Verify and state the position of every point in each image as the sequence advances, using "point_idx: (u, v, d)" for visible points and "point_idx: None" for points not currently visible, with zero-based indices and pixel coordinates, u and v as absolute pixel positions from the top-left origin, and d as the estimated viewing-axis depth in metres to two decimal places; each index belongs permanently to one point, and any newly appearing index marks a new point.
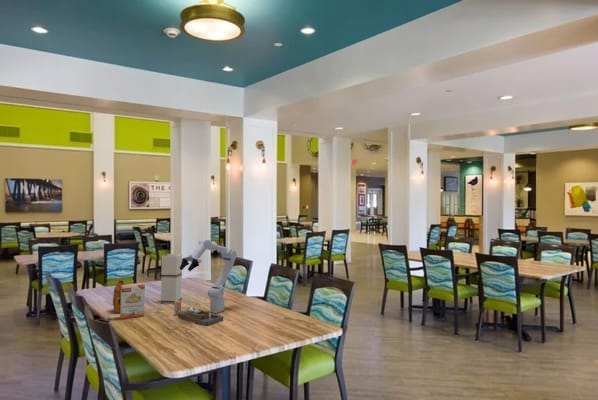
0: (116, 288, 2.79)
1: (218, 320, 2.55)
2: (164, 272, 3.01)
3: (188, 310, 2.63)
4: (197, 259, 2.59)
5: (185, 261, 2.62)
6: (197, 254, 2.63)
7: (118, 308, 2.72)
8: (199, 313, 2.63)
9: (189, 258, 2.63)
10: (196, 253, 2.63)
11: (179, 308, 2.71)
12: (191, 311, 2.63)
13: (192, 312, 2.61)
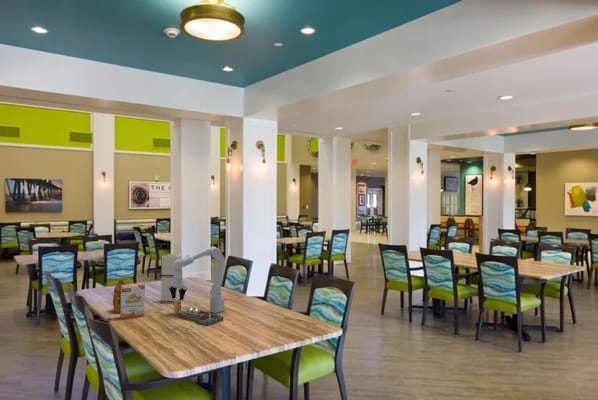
0: (116, 288, 2.79)
1: (218, 320, 2.55)
2: (164, 272, 3.01)
3: (188, 310, 2.63)
4: (182, 287, 2.68)
5: (173, 289, 2.73)
6: (178, 281, 2.69)
7: (118, 308, 2.72)
8: (199, 313, 2.63)
9: None
10: (177, 281, 2.69)
11: (179, 308, 2.71)
12: (191, 311, 2.63)
13: (192, 312, 2.61)
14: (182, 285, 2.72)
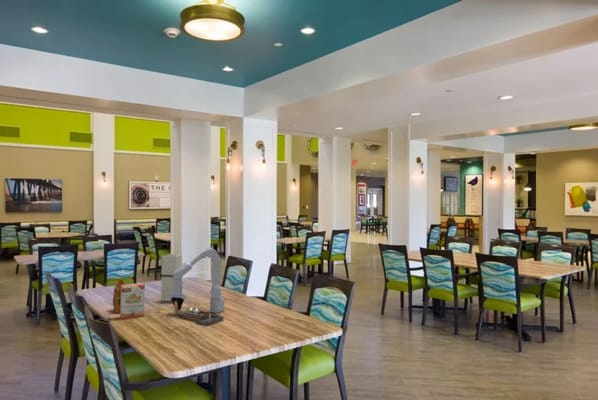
0: (116, 288, 2.79)
1: (218, 320, 2.55)
2: (164, 272, 3.01)
3: (188, 310, 2.63)
4: (182, 297, 2.68)
5: (175, 299, 2.72)
6: (178, 291, 2.69)
7: (118, 308, 2.72)
8: (199, 313, 2.63)
9: None
10: (177, 291, 2.69)
11: None
12: (191, 311, 2.63)
13: (192, 312, 2.61)
14: (182, 295, 2.72)
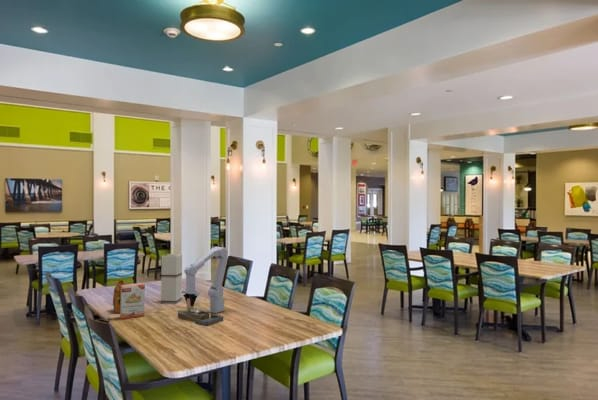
0: (116, 288, 2.79)
1: (218, 320, 2.55)
2: (164, 272, 3.01)
3: (191, 311, 2.61)
4: (195, 293, 2.61)
5: (187, 296, 2.65)
6: (191, 287, 2.63)
7: (118, 308, 2.72)
8: (199, 313, 2.63)
9: None
10: (190, 287, 2.62)
11: None
12: None
13: (193, 311, 2.61)
14: (195, 291, 2.65)
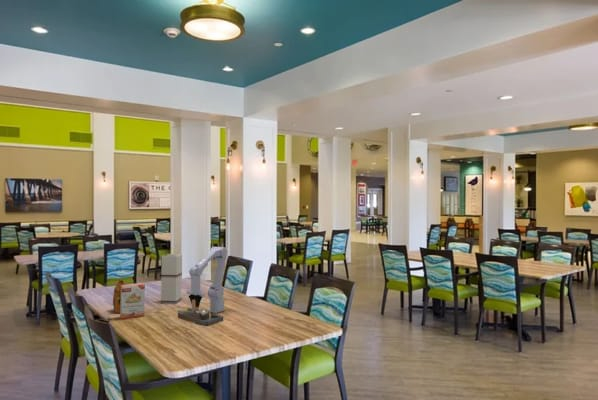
0: (116, 288, 2.79)
1: (218, 320, 2.55)
2: (164, 272, 3.01)
3: (196, 313, 2.59)
4: (200, 294, 2.59)
5: (192, 297, 2.63)
6: (196, 288, 2.60)
7: (118, 308, 2.72)
8: (205, 310, 2.60)
9: None
10: (195, 288, 2.60)
11: (197, 307, 2.62)
12: (197, 310, 2.60)
13: (202, 315, 2.56)
14: (200, 292, 2.63)
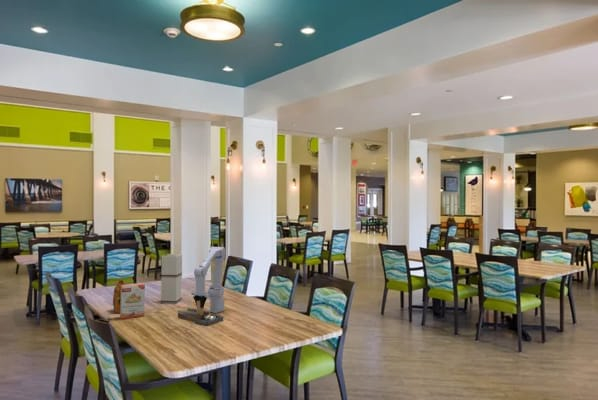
0: (116, 288, 2.79)
1: (218, 320, 2.55)
2: (164, 272, 3.01)
3: (205, 319, 2.54)
4: (205, 295, 2.57)
5: (197, 298, 2.61)
6: (201, 289, 2.58)
7: (118, 308, 2.72)
8: None
9: None
10: (200, 289, 2.58)
11: (202, 308, 2.60)
12: (204, 317, 2.56)
13: (211, 318, 2.52)
14: (205, 293, 2.60)
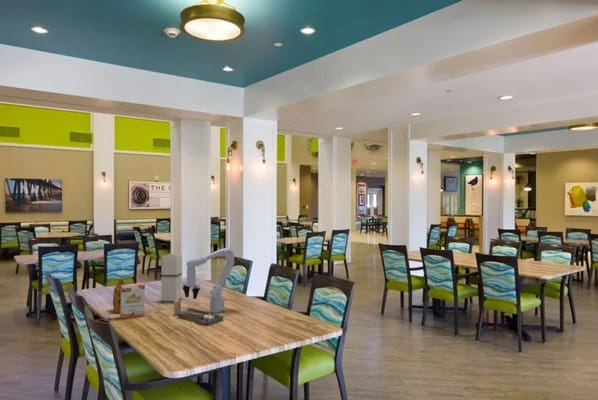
0: (116, 288, 2.79)
1: (218, 320, 2.55)
2: (164, 272, 3.01)
3: (204, 319, 2.55)
4: (195, 286, 2.71)
5: (186, 288, 2.76)
6: (192, 280, 2.72)
7: (118, 308, 2.72)
8: None
9: None
10: (190, 280, 2.72)
11: (179, 308, 2.71)
12: None
13: None
14: (195, 284, 2.75)
